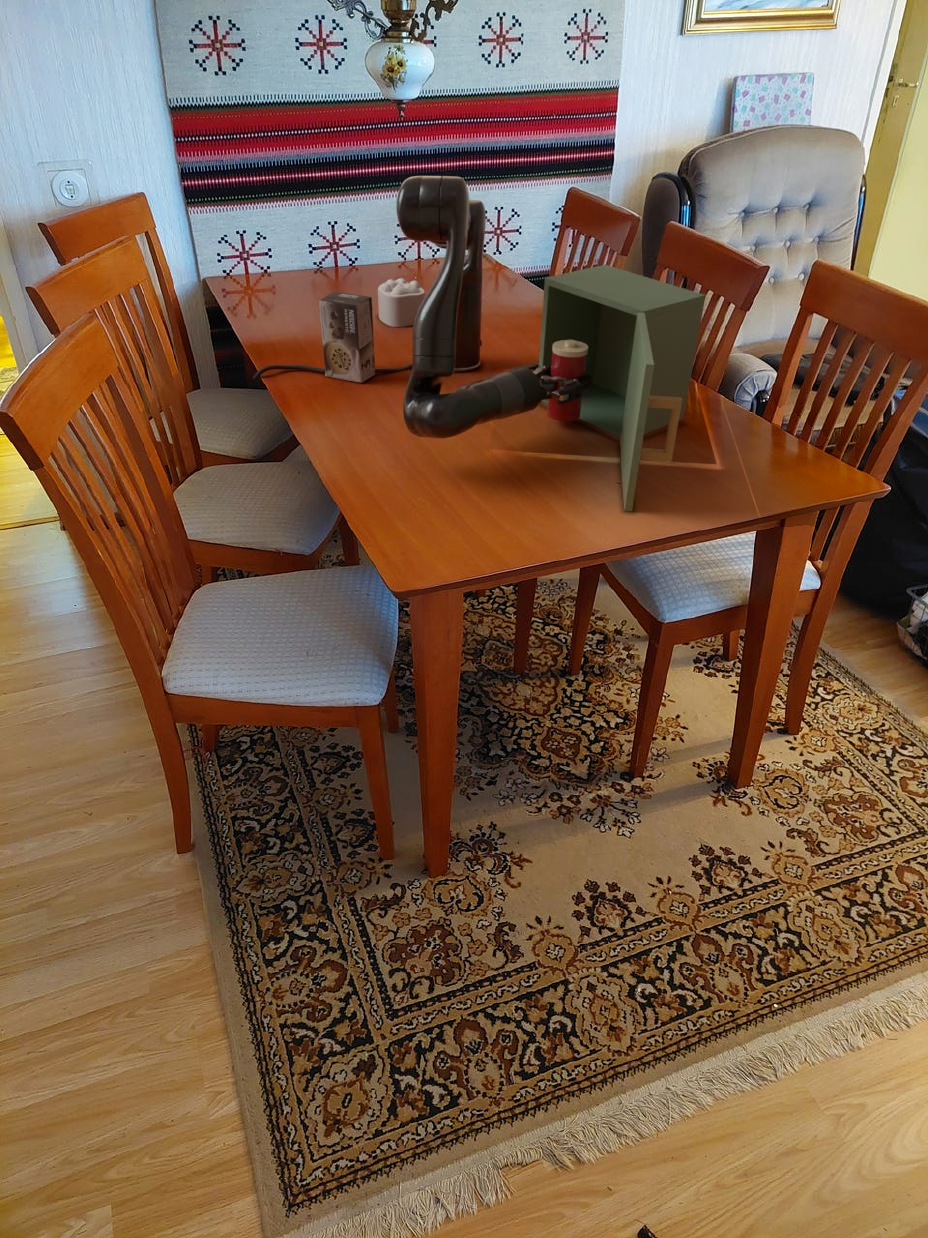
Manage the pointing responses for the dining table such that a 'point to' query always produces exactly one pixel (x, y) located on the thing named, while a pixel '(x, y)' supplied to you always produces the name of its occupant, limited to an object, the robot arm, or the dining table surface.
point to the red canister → (567, 376)
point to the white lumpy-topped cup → (399, 302)
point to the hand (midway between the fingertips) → (576, 374)
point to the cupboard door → (642, 414)
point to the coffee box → (347, 336)
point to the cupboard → (622, 337)
